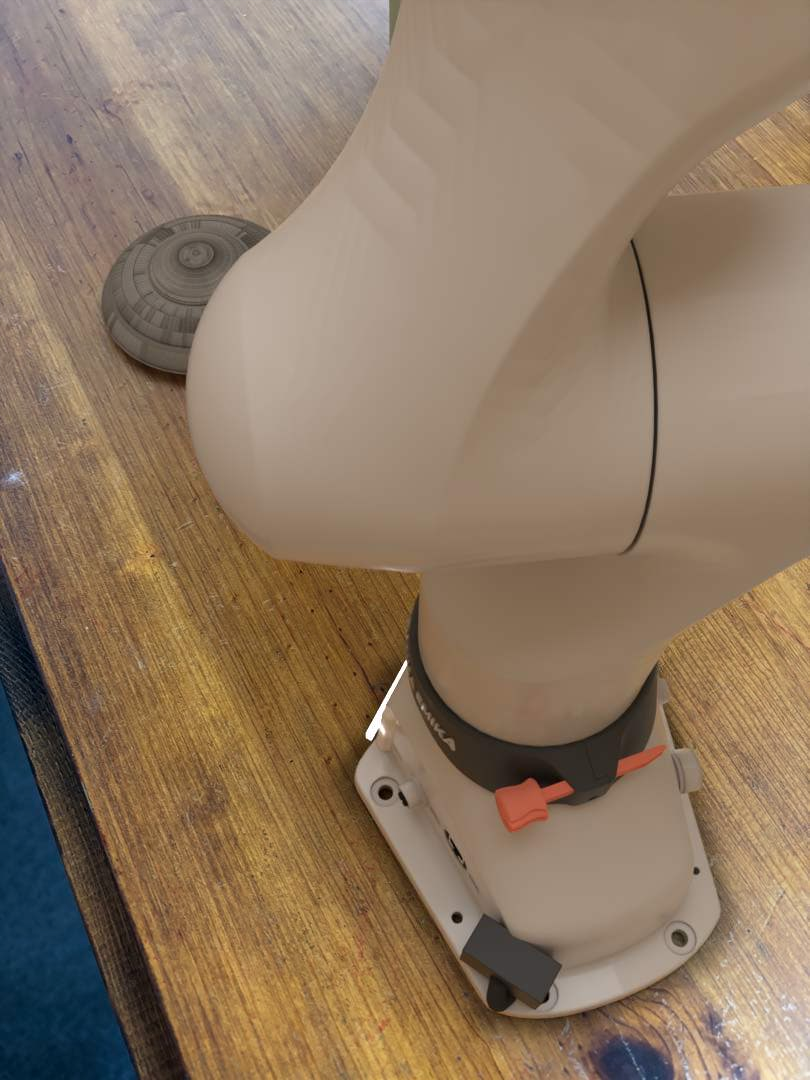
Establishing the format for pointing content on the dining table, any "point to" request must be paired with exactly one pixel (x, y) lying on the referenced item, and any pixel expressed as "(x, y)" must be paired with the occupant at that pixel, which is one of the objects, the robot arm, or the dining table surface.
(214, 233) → the flying saucer
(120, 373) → the dining table surface
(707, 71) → the robot arm
